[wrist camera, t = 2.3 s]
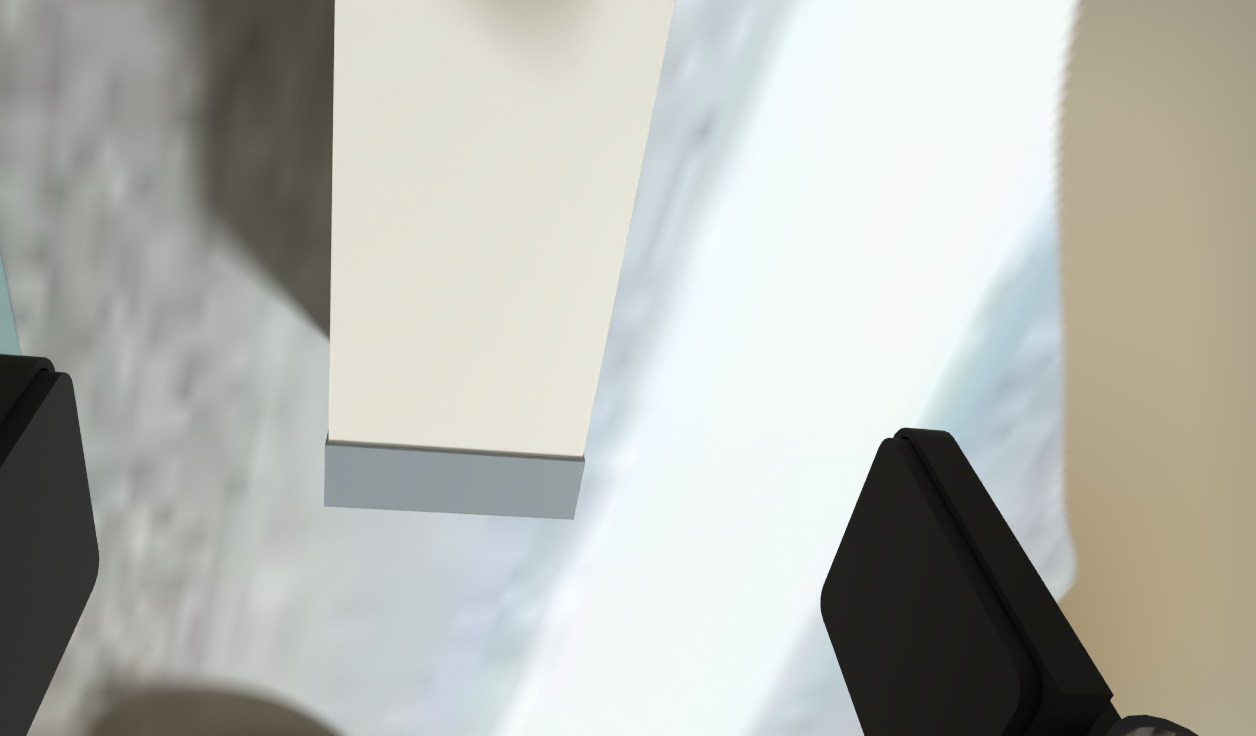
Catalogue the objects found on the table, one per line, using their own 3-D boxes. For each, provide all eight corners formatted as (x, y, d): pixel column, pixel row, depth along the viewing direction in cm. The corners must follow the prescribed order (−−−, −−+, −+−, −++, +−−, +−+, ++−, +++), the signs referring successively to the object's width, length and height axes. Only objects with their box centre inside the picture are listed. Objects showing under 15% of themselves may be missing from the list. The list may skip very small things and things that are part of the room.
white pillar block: (373, -329, 16) (334, -328, 12) (672, -264, 17) (729, -243, 13) (353, 362, 24) (324, 506, 20) (559, 378, 25) (573, 519, 21)
